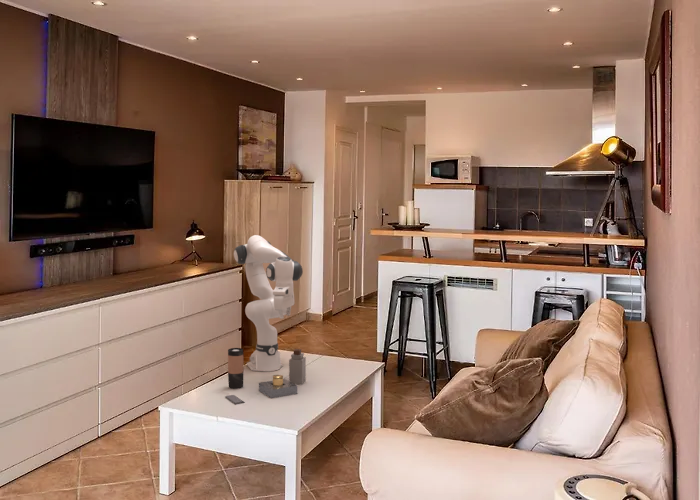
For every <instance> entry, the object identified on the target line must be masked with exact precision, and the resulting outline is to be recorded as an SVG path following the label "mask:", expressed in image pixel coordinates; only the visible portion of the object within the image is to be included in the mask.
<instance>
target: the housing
mask: <svg viewBox="0 0 700 500" xmlns="http://www.w3.org/2000/svg"><path fill="white" fill-rule="evenodd" d="M258 392H260V393H262V394H263V395H265V396H267V397H268V398H269V399H275V398H279V397H287V396H291V395H298V384H293V383H292V382H290V381H289V379H286V378H283V385H281V386H274V385H273V380H268V381H261V382H258Z"/></svg>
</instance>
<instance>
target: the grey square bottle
mask: <svg viewBox="0 0 700 500" xmlns="http://www.w3.org/2000/svg"><path fill="white" fill-rule="evenodd" d="M304 354H305V353H304V352H302V348H299V349H298V348H295V349H294V350H293V353H292V354H290V358H289V360H288V361H289V362H288V367H289V368H288V376H289V378H288V381H290V382H292V383H293V384H295V385H300V386H302V385H304V383H306V382H307V381H306V378H307V377H306V375H307V373H306V371H307V370H306V369H307V368H306V367H307V366H306V365H307V364H306V363H307V360H306V359H307V358H306V357H305V356H304Z"/></svg>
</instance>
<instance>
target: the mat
mask: <svg viewBox="0 0 700 500" xmlns="http://www.w3.org/2000/svg"><path fill="white" fill-rule="evenodd" d="M224 397H225V399H226V398H227V400H228V401H229V402H231V403H232V404H234V405H240V404H246V402H245V401H244V400H243V399H241V398H239V397H237V396H236V395H235V394H229V395H224Z"/></svg>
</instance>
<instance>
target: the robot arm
mask: <svg viewBox="0 0 700 500" xmlns="http://www.w3.org/2000/svg"><path fill="white" fill-rule="evenodd" d="M233 257H234V258H233V259H234V260H235V262H236V263H237V264H238V265H245V266H244V267H245V275H246V276H245V277H246V280H247V283H248V286H249V289H250V292H251V294H252V295H253V296H255V297H258V298H259V299H257V300H253V301H250V302H248V303H247V304H246V306H245V309H244V312H245V315H246V317H247V318H248V320H250V321H251V322H252V323H253V324H254V326H255V329H256V339H257V341H256V344H255V350H254V351H253V353H251V355H250V356H249V361H248V362H246V366H247V367H248V368H249V369H250V370H251V371H253V372H256V371H257V372H258V371H259V372H273V371H278V370H280V369H281V368H282V367H284V365H283V363H282V362H281V361H282V360H281V359H282V358H281V352H280V351H279V343H278V329H277V328H276V327H275V326H273V325H271V324H270V319H277V318H279V319H280V320H282V319H284V318H285V316H291V311H292V306H294V305H295V302H296V301H295V293H294V281H295V282H298V280H300V278H302V276H303V267H302V265H301V264H300V262H298V261H297V260H294V259H292V258H291V257H290V256H289V255H288V254H286V253H285V252H283V251H282V250H280V249H279V248H276V247H274V246H273V245H272V243H271V242H270V241H269V240H267V239H265V238H264V237H263V236H261V235H258V234H254V235H251V236H250V237H249V238H248V239H247V243H246V244H240V245H238V246H236V247H235V248H234V250H233ZM264 264H268V265H267V267H266V268H265V267H264ZM270 282H275V286H274V289H273V288H272V286H271V284H270Z"/></svg>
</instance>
